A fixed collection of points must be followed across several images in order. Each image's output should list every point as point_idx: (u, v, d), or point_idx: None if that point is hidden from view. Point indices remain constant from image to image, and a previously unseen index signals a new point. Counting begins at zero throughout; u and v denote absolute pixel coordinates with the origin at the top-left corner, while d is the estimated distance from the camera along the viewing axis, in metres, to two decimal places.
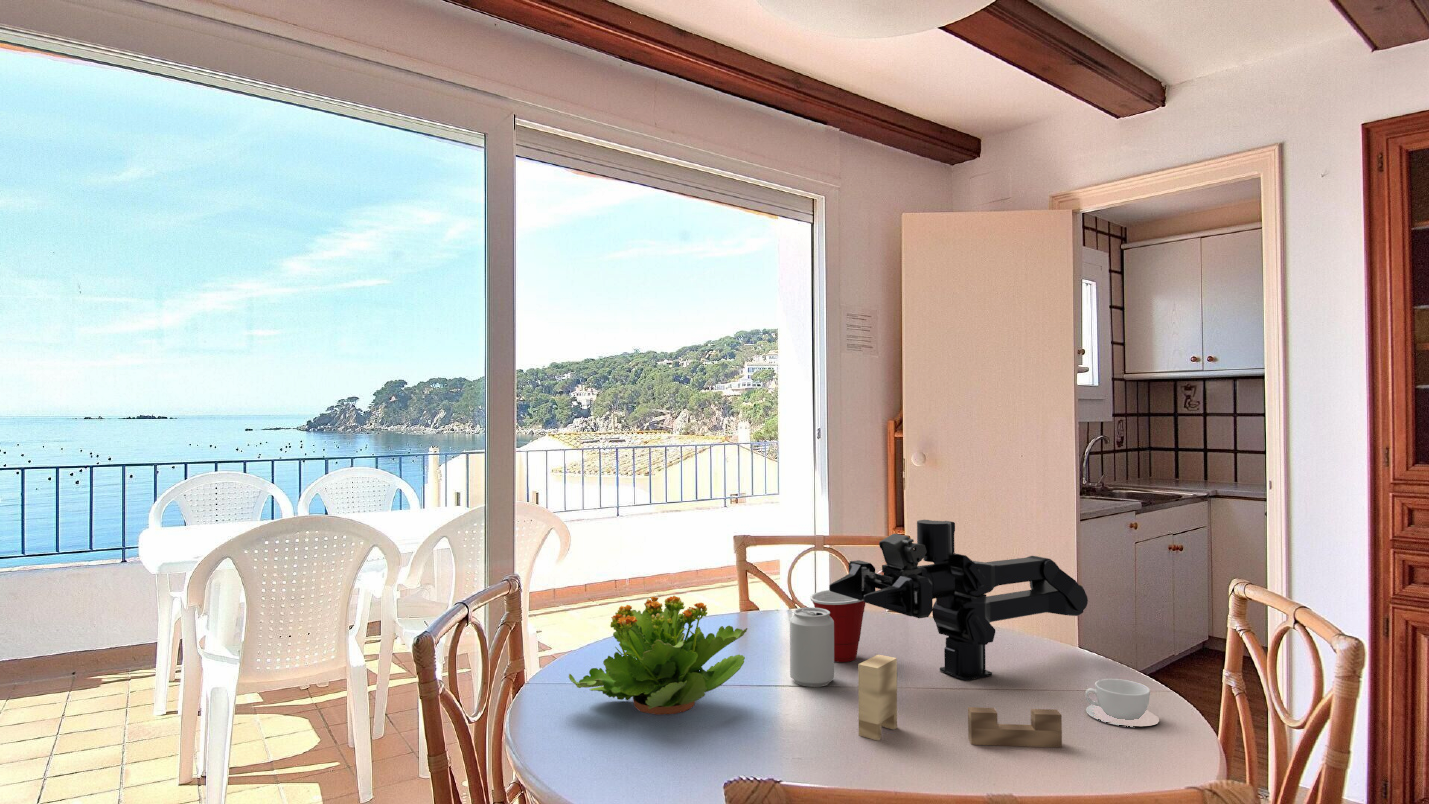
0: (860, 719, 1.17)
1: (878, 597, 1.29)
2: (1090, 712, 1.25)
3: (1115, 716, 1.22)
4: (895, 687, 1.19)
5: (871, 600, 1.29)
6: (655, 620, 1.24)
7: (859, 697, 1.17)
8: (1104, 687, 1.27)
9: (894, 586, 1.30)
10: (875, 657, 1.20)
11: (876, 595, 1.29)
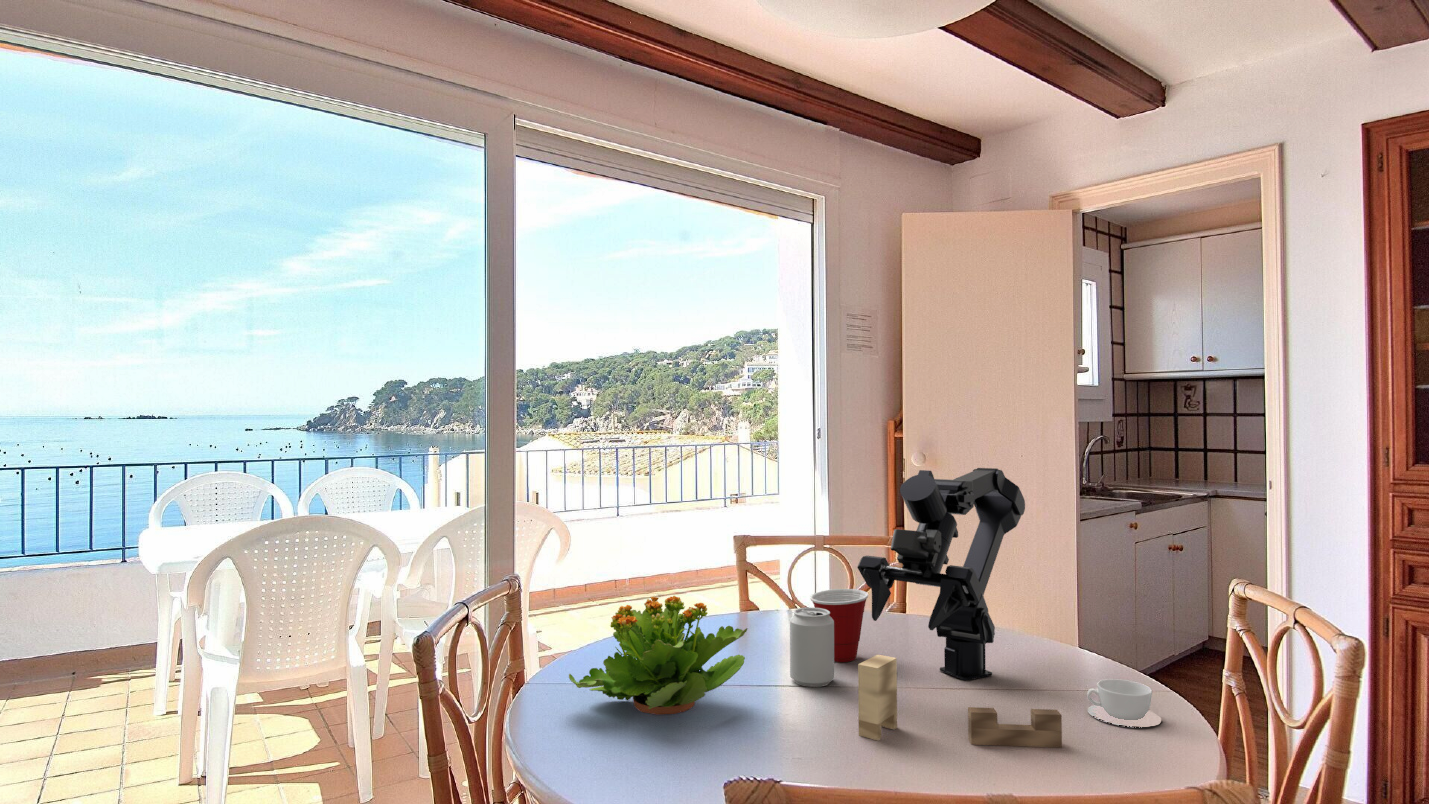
0: (860, 719, 1.17)
1: (938, 616, 1.23)
2: (1092, 712, 1.24)
3: (1117, 716, 1.22)
4: (895, 687, 1.19)
5: (935, 623, 1.22)
6: (655, 620, 1.24)
7: (859, 697, 1.17)
8: (1106, 687, 1.27)
9: (943, 594, 1.23)
10: (875, 657, 1.20)
11: (937, 616, 1.22)
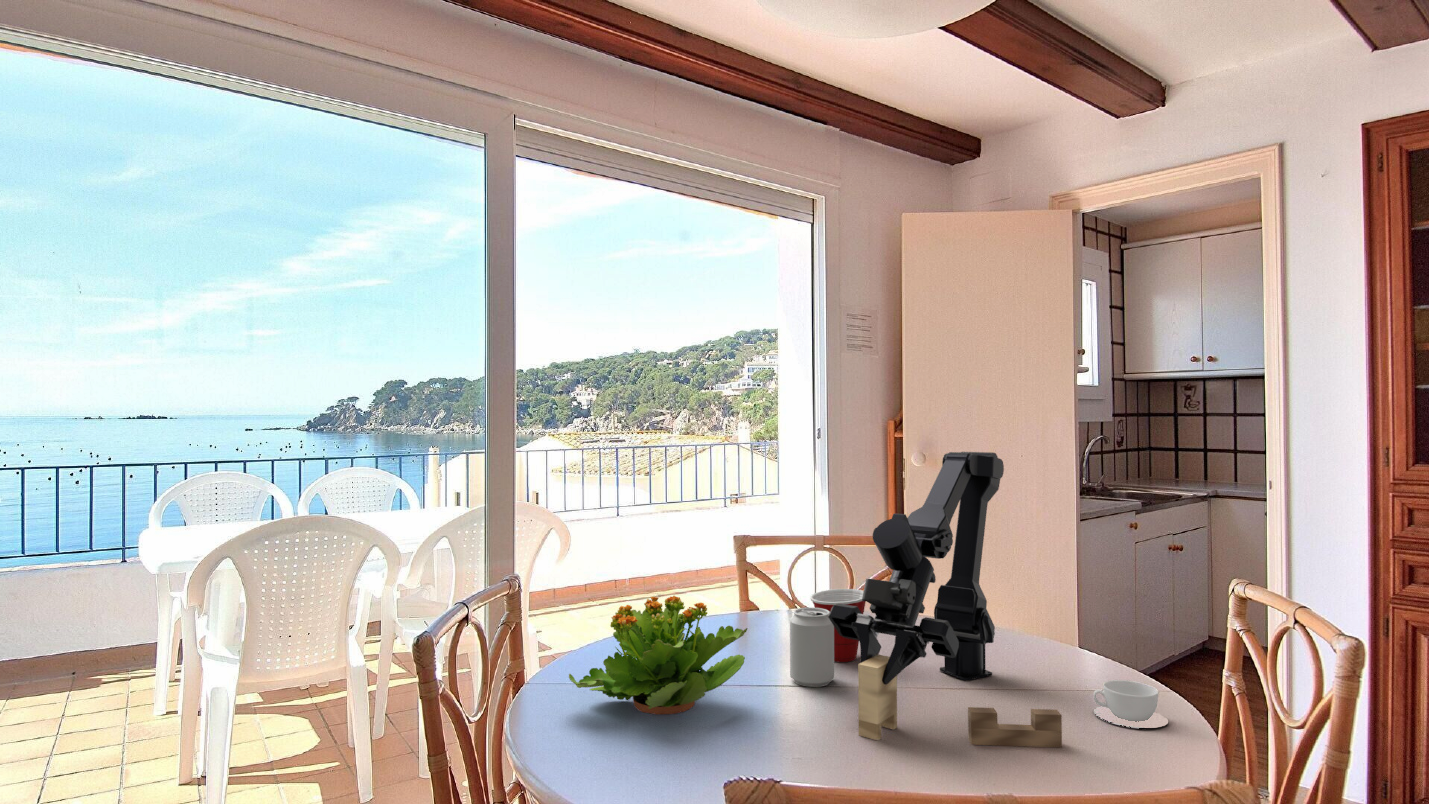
0: (860, 719, 1.17)
1: (893, 669, 1.17)
2: (1098, 713, 1.24)
3: (1123, 717, 1.21)
4: (895, 687, 1.19)
5: (890, 677, 1.17)
6: (655, 620, 1.24)
7: (859, 697, 1.17)
8: (1112, 688, 1.26)
9: (898, 646, 1.18)
10: (875, 657, 1.20)
11: (892, 670, 1.17)
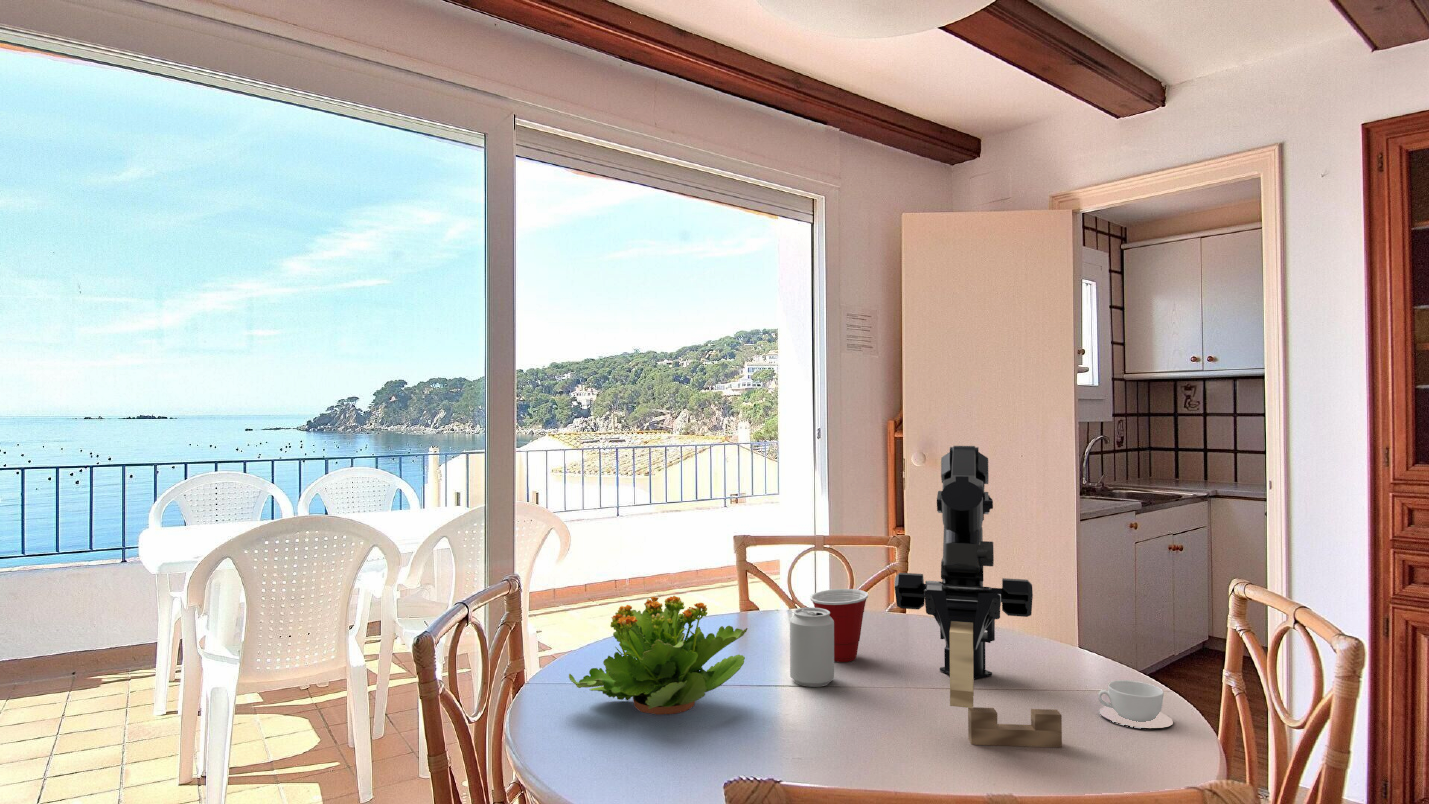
0: (952, 689, 1.12)
1: (979, 633, 1.14)
2: None
3: (1128, 718, 1.21)
4: None
5: (978, 642, 1.13)
6: (655, 620, 1.24)
7: (950, 666, 1.12)
8: (1117, 689, 1.26)
9: (981, 609, 1.15)
10: (953, 624, 1.16)
11: (980, 634, 1.13)
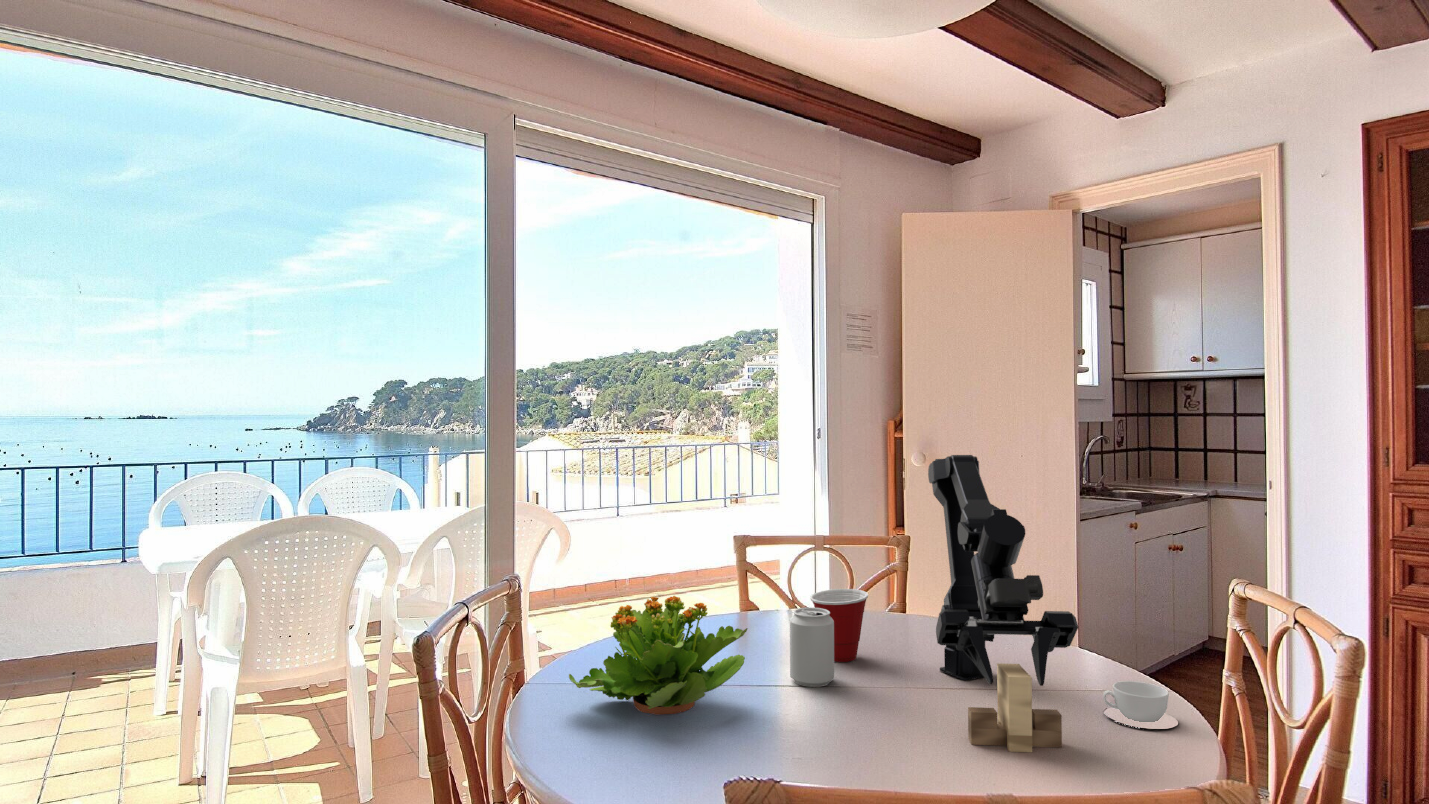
0: (1011, 734, 1.11)
1: None
2: None
3: (1134, 718, 1.21)
4: None
5: None
6: (655, 620, 1.24)
7: (1010, 711, 1.11)
8: (1121, 689, 1.26)
9: (1043, 644, 1.15)
10: (1002, 666, 1.15)
11: None
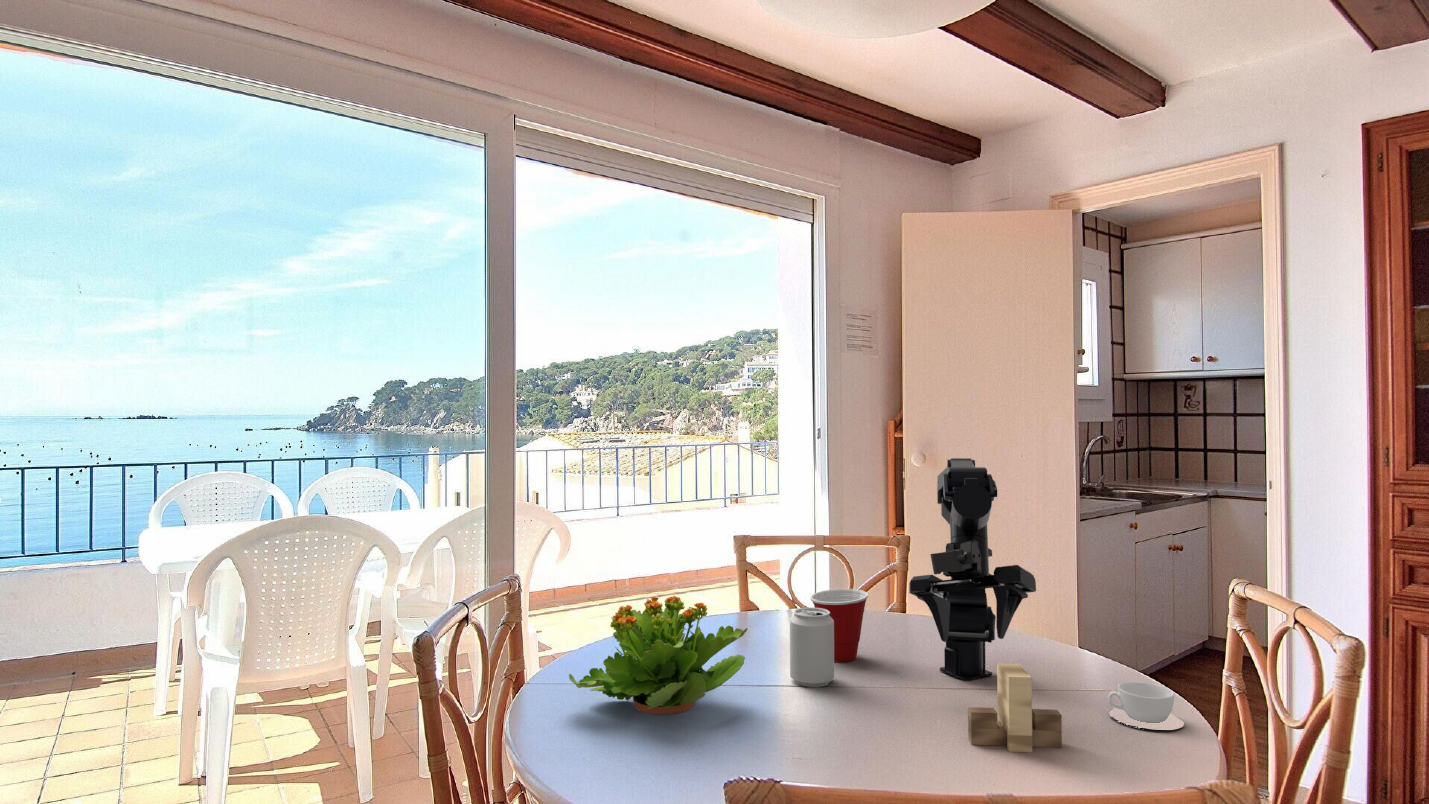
0: (1011, 734, 1.11)
1: (1003, 622, 1.23)
2: None
3: (1139, 719, 1.20)
4: None
5: (1004, 631, 1.22)
6: (655, 620, 1.24)
7: (1010, 711, 1.11)
8: (1127, 690, 1.25)
9: (1000, 600, 1.23)
10: (1002, 666, 1.15)
11: (1003, 624, 1.22)
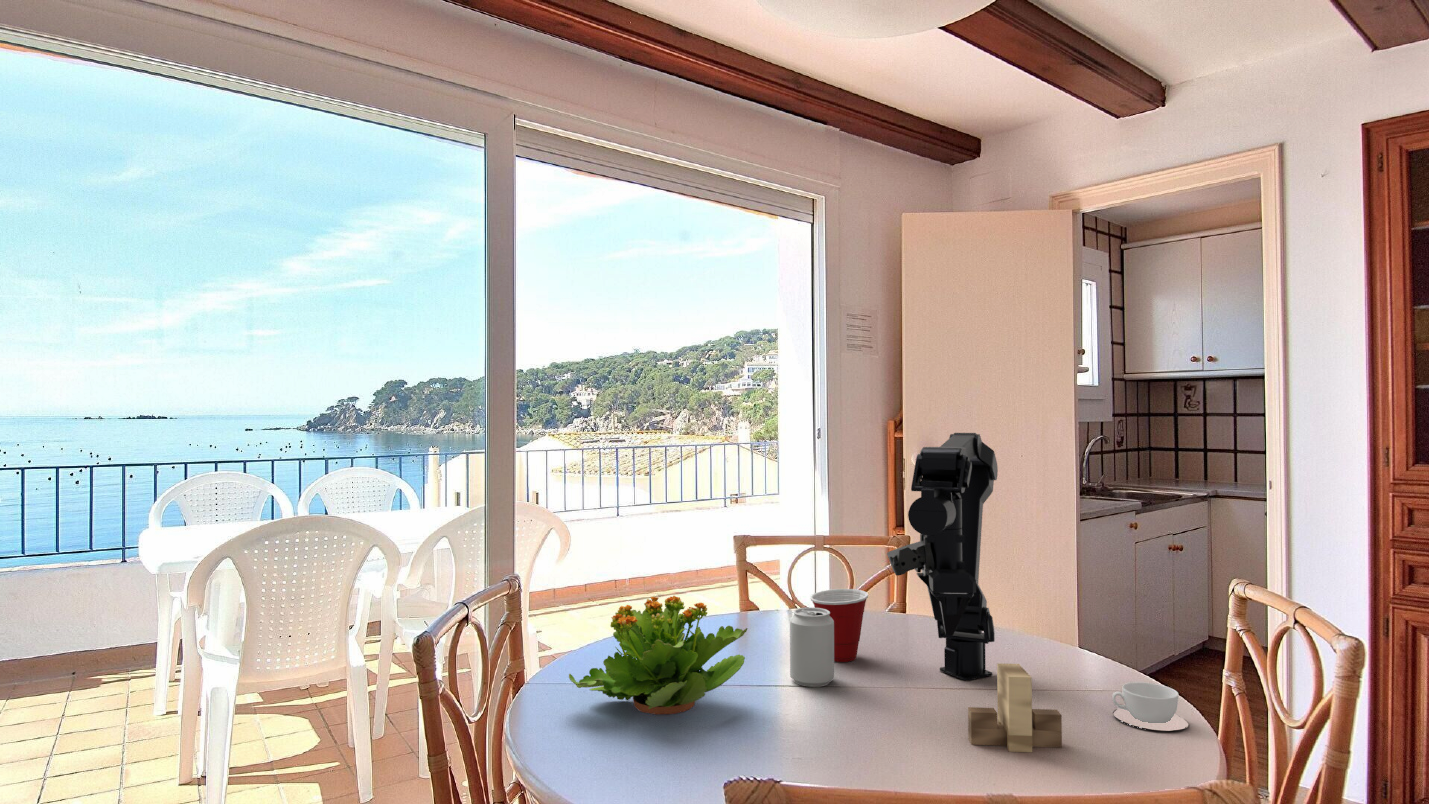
0: (1011, 734, 1.11)
1: (949, 621, 1.24)
2: None
3: (1143, 720, 1.20)
4: None
5: (951, 628, 1.24)
6: (655, 620, 1.24)
7: (1010, 711, 1.11)
8: (1131, 690, 1.25)
9: (939, 601, 1.24)
10: (1002, 666, 1.15)
11: (947, 623, 1.24)
